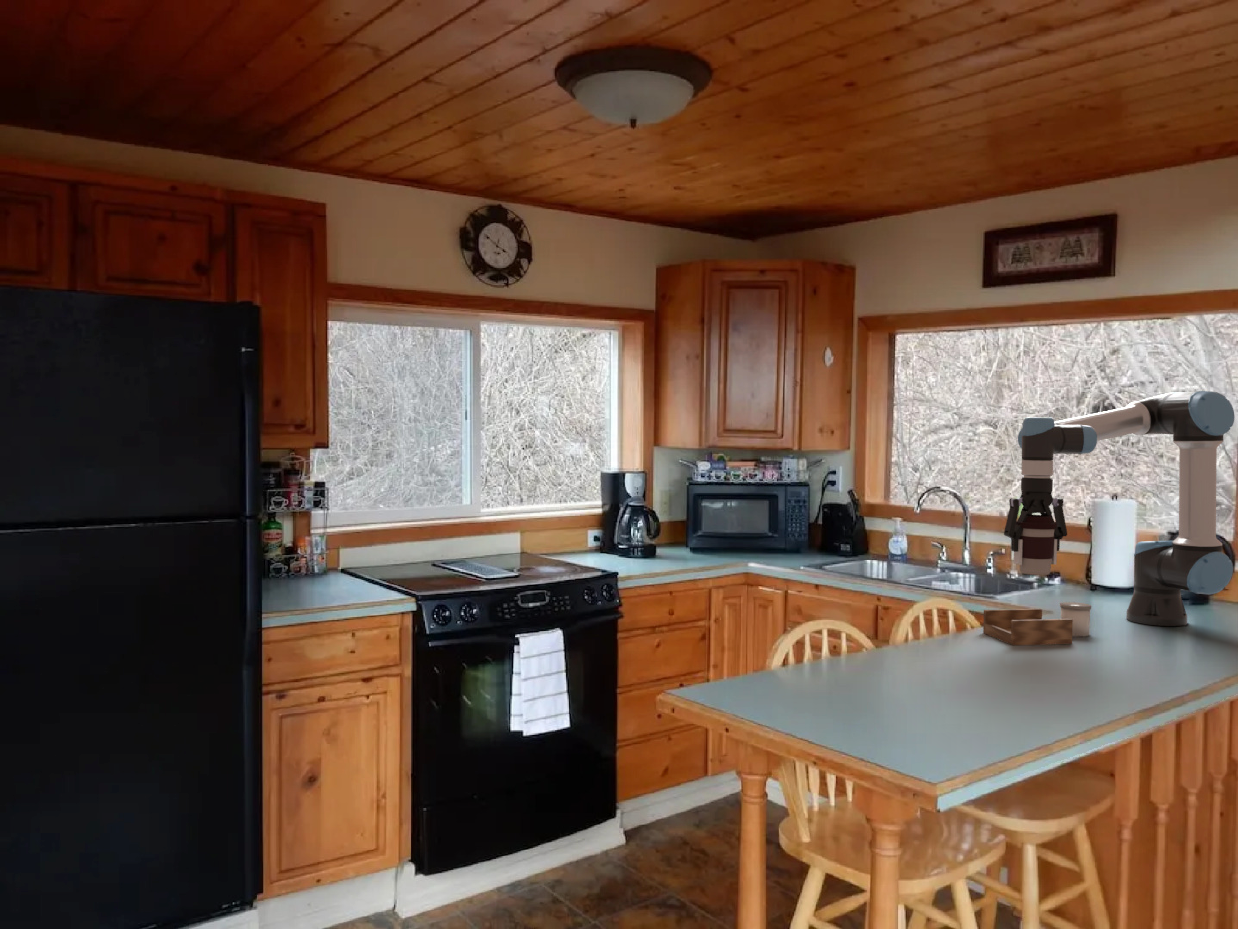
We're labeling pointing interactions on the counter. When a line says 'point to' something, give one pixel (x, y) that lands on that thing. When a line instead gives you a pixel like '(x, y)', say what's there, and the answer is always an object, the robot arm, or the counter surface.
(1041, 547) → the coffee cup
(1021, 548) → the robot arm
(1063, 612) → the sugar jar
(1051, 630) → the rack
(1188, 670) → the counter surface
